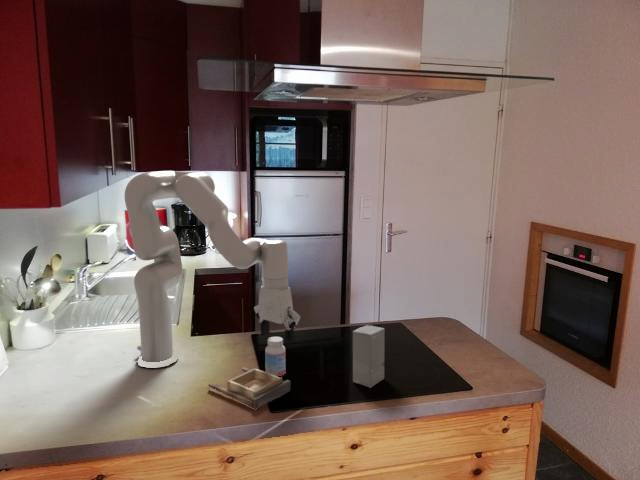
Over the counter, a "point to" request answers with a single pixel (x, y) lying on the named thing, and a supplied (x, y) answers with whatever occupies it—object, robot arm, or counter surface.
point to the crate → (255, 374)
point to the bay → (257, 400)
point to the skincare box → (368, 355)
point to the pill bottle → (275, 357)
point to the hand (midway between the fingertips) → (277, 338)
